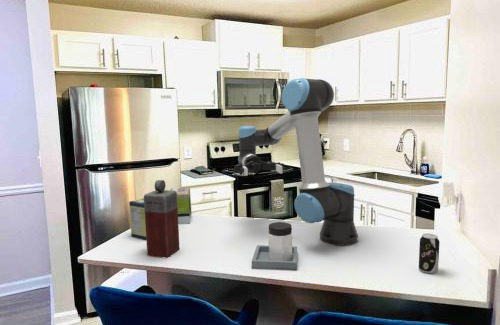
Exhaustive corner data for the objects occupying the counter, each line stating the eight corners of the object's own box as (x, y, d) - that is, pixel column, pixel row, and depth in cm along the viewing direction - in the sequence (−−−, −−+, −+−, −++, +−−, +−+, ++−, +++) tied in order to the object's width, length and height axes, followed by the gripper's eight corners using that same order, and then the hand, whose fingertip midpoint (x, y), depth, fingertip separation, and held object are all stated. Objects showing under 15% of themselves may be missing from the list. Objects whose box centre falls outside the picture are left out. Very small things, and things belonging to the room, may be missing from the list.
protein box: (173, 230, 170) (172, 196, 167) (148, 240, 156) (145, 204, 154) (156, 226, 175) (154, 194, 173) (130, 236, 162) (128, 201, 159)
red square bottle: (154, 246, 149) (150, 177, 145) (179, 249, 146) (176, 178, 142) (141, 254, 141) (136, 181, 137) (168, 258, 137) (164, 182, 133)
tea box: (172, 216, 192) (170, 187, 190) (191, 215, 193) (190, 186, 191) (169, 224, 177) (167, 194, 175) (190, 223, 178) (189, 193, 176)
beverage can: (441, 274, 120) (443, 238, 118) (424, 275, 119) (426, 238, 118) (431, 266, 125) (433, 232, 124) (415, 267, 125) (416, 233, 123)
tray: (297, 253, 140) (297, 246, 139) (296, 270, 125) (296, 262, 124) (257, 251, 142) (256, 245, 141) (251, 268, 127) (251, 261, 127)
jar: (277, 264, 128) (276, 230, 126) (263, 257, 135) (263, 224, 133) (297, 258, 133) (297, 225, 131) (283, 251, 140) (283, 220, 138)
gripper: (280, 170, 166) (295, 178, 145) (224, 173, 161) (232, 182, 140) (279, 153, 165) (295, 159, 144) (223, 156, 160) (231, 162, 139)
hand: (264, 171), depth 142 cm, fingers open, 13 cm apart
